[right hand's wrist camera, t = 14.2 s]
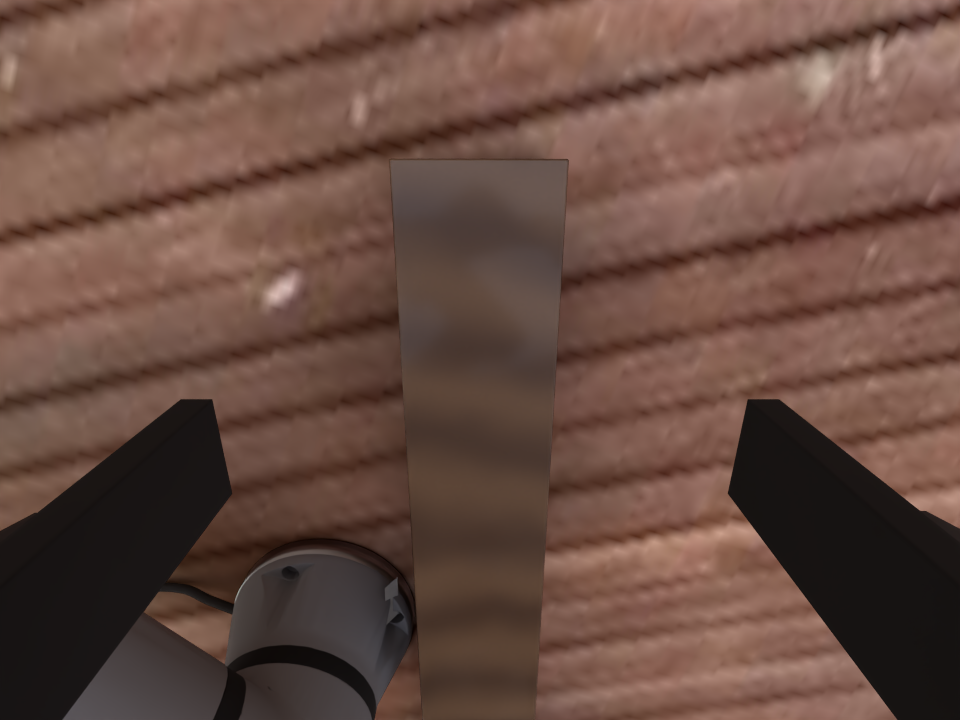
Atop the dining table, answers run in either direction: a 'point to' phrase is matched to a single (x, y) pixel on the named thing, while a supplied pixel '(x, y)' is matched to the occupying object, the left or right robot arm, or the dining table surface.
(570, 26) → the dining table surface
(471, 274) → the thick board
